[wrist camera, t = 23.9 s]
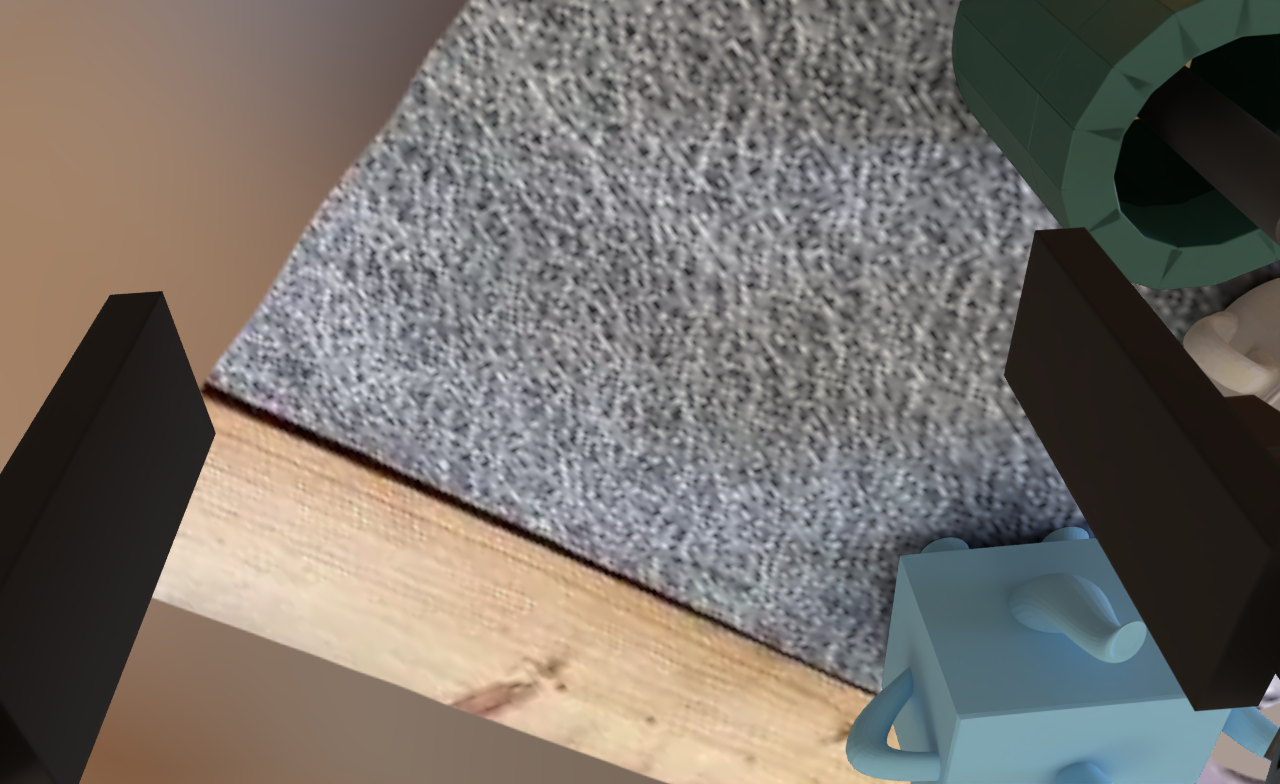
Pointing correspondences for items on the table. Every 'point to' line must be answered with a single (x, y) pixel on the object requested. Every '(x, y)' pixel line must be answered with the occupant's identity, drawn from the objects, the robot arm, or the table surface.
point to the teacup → (1242, 345)
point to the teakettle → (1031, 676)
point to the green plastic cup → (1122, 120)
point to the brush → (1220, 144)
